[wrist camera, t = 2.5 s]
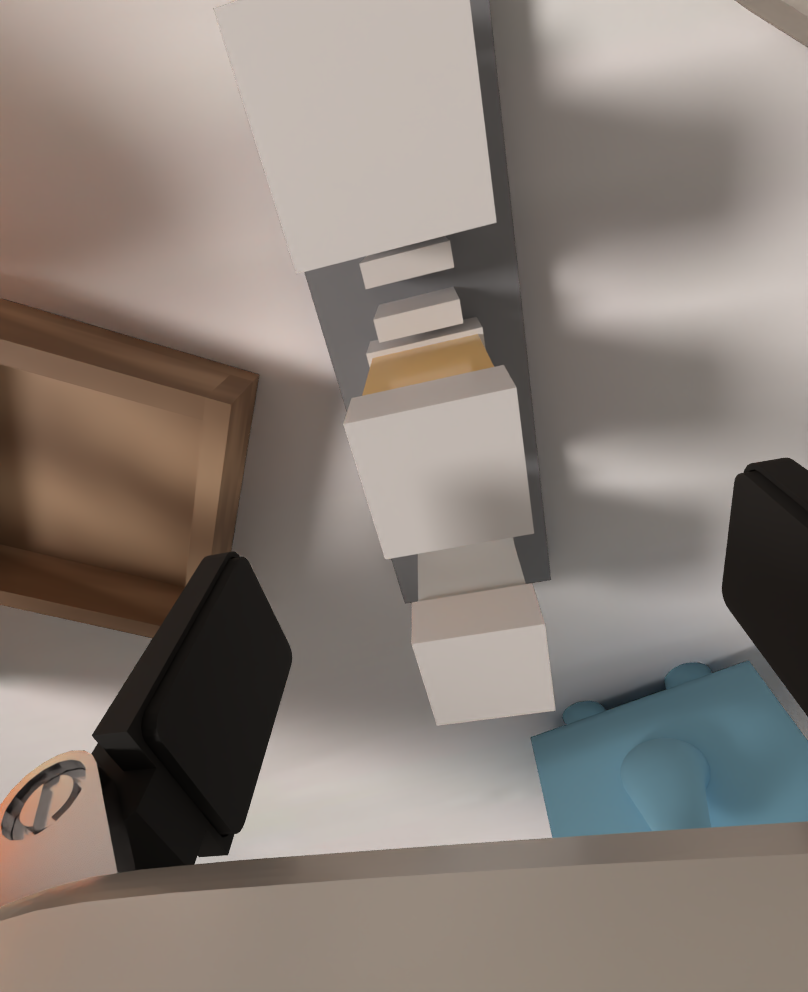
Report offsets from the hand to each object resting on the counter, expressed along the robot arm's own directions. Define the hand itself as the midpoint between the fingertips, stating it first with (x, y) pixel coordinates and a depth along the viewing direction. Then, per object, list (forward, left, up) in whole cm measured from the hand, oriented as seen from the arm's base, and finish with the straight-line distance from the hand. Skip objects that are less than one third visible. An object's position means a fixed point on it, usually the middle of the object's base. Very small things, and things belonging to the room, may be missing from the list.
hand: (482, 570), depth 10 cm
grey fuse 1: (+7, +4, -13) cm, 15 cm away
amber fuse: (0, 0, -13) cm, 13 cm away
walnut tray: (-10, +15, -15) cm, 23 cm away
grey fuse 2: (-7, -4, -13) cm, 15 cm away
